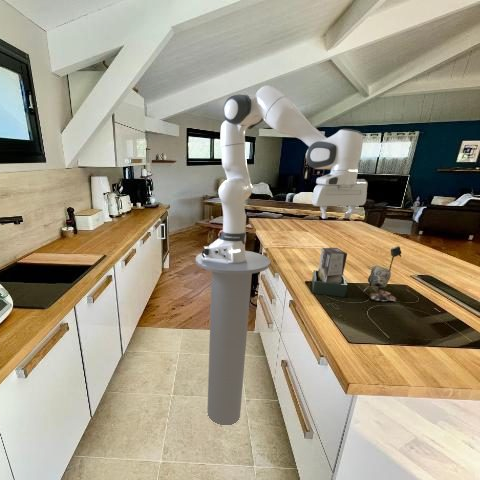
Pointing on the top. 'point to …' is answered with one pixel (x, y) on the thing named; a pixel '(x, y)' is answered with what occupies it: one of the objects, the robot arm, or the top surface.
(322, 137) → the robot arm
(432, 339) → the top surface
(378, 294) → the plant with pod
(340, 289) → the open box frame
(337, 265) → the coffee box
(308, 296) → the top surface
